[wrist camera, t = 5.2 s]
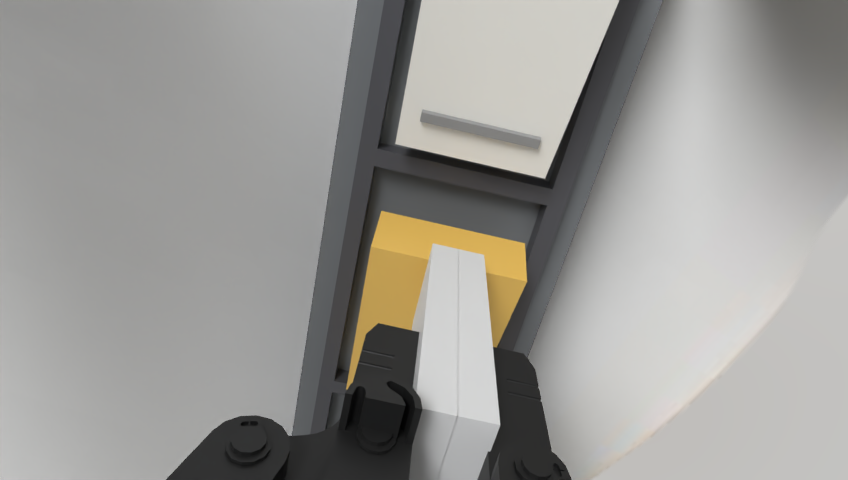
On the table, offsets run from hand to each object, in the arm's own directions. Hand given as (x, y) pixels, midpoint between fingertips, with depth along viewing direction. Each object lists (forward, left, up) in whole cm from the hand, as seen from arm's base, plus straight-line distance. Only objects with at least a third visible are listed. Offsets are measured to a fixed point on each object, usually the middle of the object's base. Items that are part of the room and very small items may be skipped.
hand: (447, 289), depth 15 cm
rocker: (-7, 0, -3) cm, 8 cm away
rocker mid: (+3, 0, -3) cm, 4 cm away
